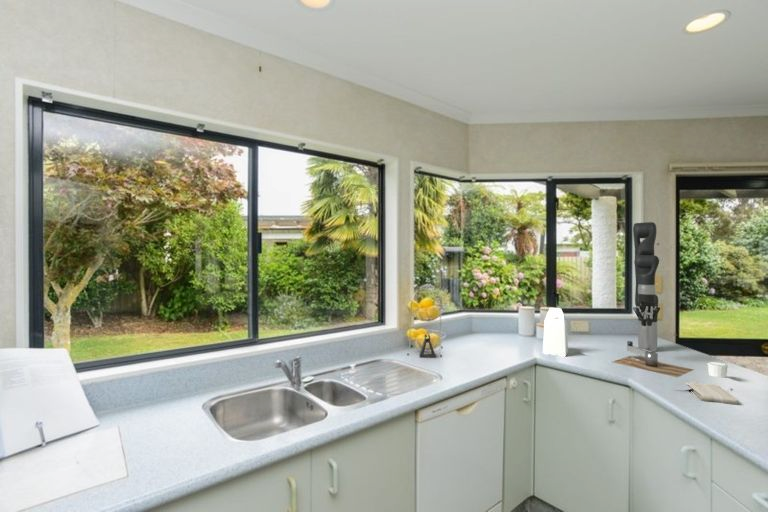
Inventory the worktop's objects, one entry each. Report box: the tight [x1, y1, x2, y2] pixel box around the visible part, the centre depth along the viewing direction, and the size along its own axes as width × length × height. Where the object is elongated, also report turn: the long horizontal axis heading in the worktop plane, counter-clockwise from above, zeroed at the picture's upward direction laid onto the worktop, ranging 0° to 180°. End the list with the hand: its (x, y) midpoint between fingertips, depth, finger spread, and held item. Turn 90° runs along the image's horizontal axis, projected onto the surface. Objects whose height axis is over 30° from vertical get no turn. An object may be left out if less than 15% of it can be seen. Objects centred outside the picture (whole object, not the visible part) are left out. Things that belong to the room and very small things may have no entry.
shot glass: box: [706, 361, 728, 379], centre depth 168 cm, size 7×7×7 cm
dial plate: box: [612, 355, 695, 378], centre depth 183 cm, size 20×28×2 cm
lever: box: [626, 340, 659, 367], centre depth 190 cm, size 19×5×8 cm, turn 2°
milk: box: [542, 307, 569, 357], centre depth 212 cm, size 12×12×26 cm
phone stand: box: [418, 333, 437, 359], centre depth 207 cm, size 9×6×12 cm, turn 86°
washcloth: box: [685, 381, 740, 406], centre depth 149 cm, size 12×18×3 cm, turn 159°
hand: (646, 325), depth 194 cm, fingers closed
